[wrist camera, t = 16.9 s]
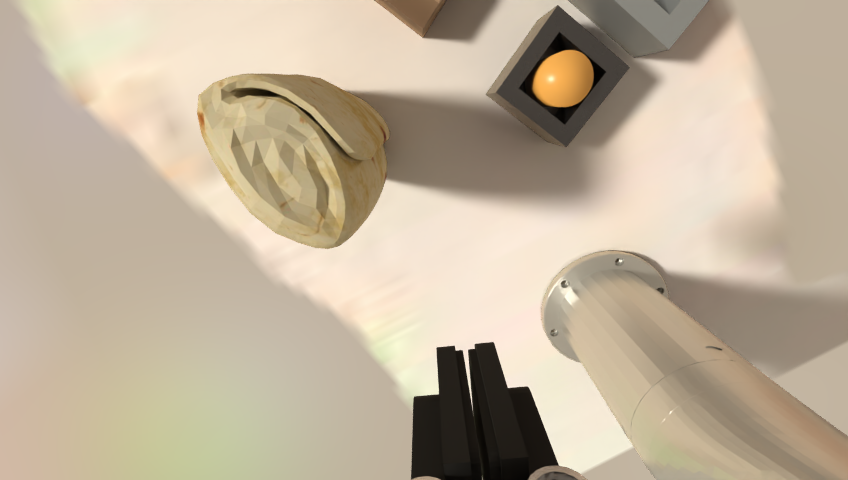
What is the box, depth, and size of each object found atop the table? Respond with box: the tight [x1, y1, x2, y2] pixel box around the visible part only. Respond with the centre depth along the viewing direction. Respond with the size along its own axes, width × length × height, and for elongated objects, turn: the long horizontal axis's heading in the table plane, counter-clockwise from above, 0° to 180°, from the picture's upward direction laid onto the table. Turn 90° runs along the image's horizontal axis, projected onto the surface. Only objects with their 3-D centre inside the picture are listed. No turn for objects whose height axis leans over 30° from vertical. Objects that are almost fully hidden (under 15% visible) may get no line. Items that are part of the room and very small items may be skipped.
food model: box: [197, 74, 390, 249], centre depth 26 cm, size 10×7×20 cm
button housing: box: [486, 5, 630, 147], centre depth 32 cm, size 7×7×5 cm
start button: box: [525, 50, 594, 107], centre depth 30 cm, size 4×4×4 cm
